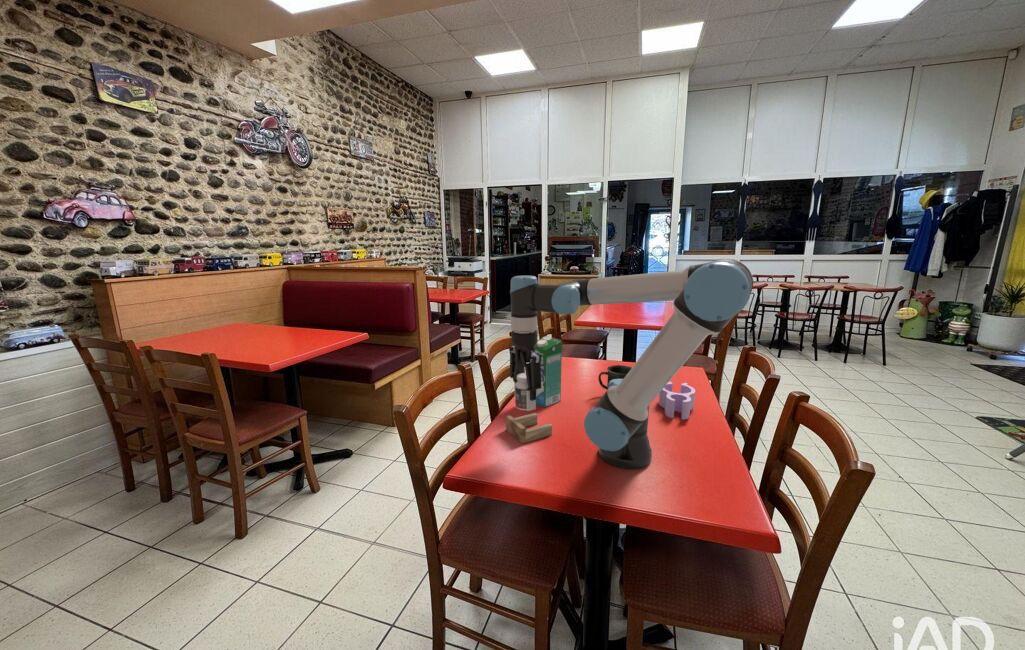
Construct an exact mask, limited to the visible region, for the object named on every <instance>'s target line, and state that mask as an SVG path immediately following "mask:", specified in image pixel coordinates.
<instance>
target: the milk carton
mask: <svg viewBox="0 0 1025 650" xmlns="http://www.w3.org/2000/svg"><path fill="white" fill-rule="evenodd" d="M534 349H535V354H536V355H541V363H540V365H541V388H540V389H536V405H539V406H541V407H543V408H547V407H549V406H552V405H554V404H556V403H559V402H561V397H562V393H561V392H562V364H563V363H562V362H563V361H562V360H563V359H562V358H563V356H562V355H563V340H561V339H558V338H555V337H552V336H551V337H550V336H547V335H544V336H543V337H541V338H539V339H537V344H535V346H534ZM528 363H531V362H528Z"/></svg>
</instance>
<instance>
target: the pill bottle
mask: <svg viewBox="0 0 1025 650" xmlns="http://www.w3.org/2000/svg"><path fill="white" fill-rule="evenodd" d="M517 381H518V382H516V384H515V387H514V403H515V408H516V409H517V410H520V411H527V392H526V389H527V388H528V383H527V378H526V372H523V373H520V374H518V375H517Z"/></svg>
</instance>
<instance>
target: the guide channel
mask: <svg viewBox="0 0 1025 650" xmlns="http://www.w3.org/2000/svg"><path fill="white" fill-rule="evenodd" d="M537 424H538V414H537V413H536V412H532V413H528V414H525V415H521V416H518V417H513V416H512V415H510V414H509V415H506V416H505V431H507V432H508V433H509V434H510V435H512V436H513V437H514V438H515V440H517V441H518V442H519V443H520V444H525V443H528V442H529V443H530V442H533V441H536V440H540V439H544V438H546V437H550V436H552V435H553V424H551V423H545V424H543V425H542V424H541V425H537ZM535 425H537V426H535ZM531 426H535V427H531ZM528 427H531V428H528ZM527 428H528V429H527Z"/></svg>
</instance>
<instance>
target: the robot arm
mask: <svg viewBox="0 0 1025 650" xmlns="http://www.w3.org/2000/svg"><path fill="white" fill-rule="evenodd" d="M753 278H754V277H753V275H752V272H751V271H750V270H749V268H748V267H747V266H746V265H745V264H744V263H742V262H740V261H739V260H736V259H732V258H720V259H715V260H713V261H709V262H706V263H705V262H704V263H699V264H692V265H691V264H690V265H688V266H687V267H686V268H685V269H683V270H671V271H661V272H658V271H657V272H650V273H648V272H647V273H640V274H639V273H638V274H636V273H635V274H629V275H628V274H627V275H619V276H618V275H616V276H607V277H595V278H586V279H585V278H576V279H572V280H570V281H567V282H562V283H558V284H544V283H538V277H536V276H535V275H515V276H513V277H511V279H510V289H509V294H510V296H509V297H510V308H511V309H510V311H511V312H510V329H511V332H510V334H511V335H510V337H511V338H510V339H511V340H510V342H511V344H512V346H511V345H510V346H509V347H508V351H509V378H510V379H512V381H513V382H514V386H513V387H514V388H515V384H516V382H518V381H517V375H518V374H520V373H526V378H527V383H528V388H527V389H526V392H527V410H526V411H527V412H530V411H533V410H536V409H537V408H536V407H537V404H536V389H540V388H541V365H540V363H541V355H536V354H535V349H534V346H535V344H537V340H538V331H537V329H538V312H543V313H552V314H559V315H572V314H573V315H574V314H575V313H576V312H577V310H578V309H579V307H580V306H594V305H611V304H613V305H615V304H628V303H629V304H630V303H631V304H634V303H636V304H637V303H654V302H672V306H673V310H674V312H673V313H672V315H671V316H670V317H669V318H668V320H667V321H666V323H665V324H664V325H663V327H662V328H661V330H659V332H658V333H657V335H656V336H655V337H654V339H652V341H651V343H650V344H649V345H648V346H647V348H646V349H645V350H644V352H643V353H642V354H641V355H640V357H639V358H638V359H637V361H635V363H634V364H633V366H632V369H631V370H630V371H629V372H628V374H627V375H626V376H625V378H624V379H613V380H611V381H610V382H609V385H608V390H607V389H606V391H605V392H604V394H603V395H602V396H601V397H600V399H599V400H598V402H597V403H596V404H595V405H594V407H593V408H590V409H589V410H588V412H587V414H586V416H585V418H584V420H583V427H584V430H585V434H586V437H587V438H588V440H589V442H591V443H592V444H593V445H594V446H596V447H597V448H598V455H599V456H600V458H601V459H602V460H603V461H604V462H606V463H607V464H609V465H611V466H614V467H617V468H621V469H626V470H636V469H642V468H645V467H647V466H648V465H650V464H651V462H652V459H653V451H652V450H653V449H652V448H651V445H650V444H651V443H650V439H649V436H648V426H649V416H650V414H649V413H650V405H651V403H652V402H653V401H655V399H656V398H657V396H659V394H660V392H661V391H662V389H663V388H664V387H665V386H666V385H667V383H668V382H669V381H670V382H671V380H672V379H673V378H674V376H675V375H676V374H677V373H678V372H679V370H680V369H681V368H682V367H683V366H684V365H685V363H686V362H687V361H688V360H689V359H690V357H691V356H692V355H693V354H694V353H695V352H696V350H697V349H698V348H699V347H700V346H701V345H702V343H703V342H704V341H705V339H707V337H708V336H710V335H719V334H720V333H721V332H722V331H724V329H725V327H726V326H727V325H728V324H729V323H730V322H731V320H732V319H733V318H734V317H735V316H736V315H737V314H740V312H741V311H742V310H744V308H745V307H746V306H747V304H748V302H749V300H750V297H751V293H752V291H753V289H754V279H753ZM529 362H531V363H529ZM524 371H525V372H524Z"/></svg>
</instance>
